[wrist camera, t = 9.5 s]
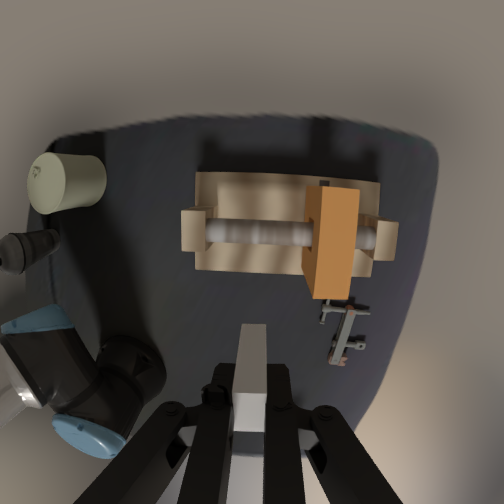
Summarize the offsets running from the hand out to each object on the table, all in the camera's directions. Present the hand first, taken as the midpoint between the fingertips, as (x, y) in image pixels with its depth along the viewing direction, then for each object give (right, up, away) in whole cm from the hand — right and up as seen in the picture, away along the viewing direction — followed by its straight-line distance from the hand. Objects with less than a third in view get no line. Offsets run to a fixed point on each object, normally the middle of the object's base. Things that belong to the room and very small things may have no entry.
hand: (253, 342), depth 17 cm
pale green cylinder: (-29, +18, +25) cm, 43 cm away
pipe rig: (+5, +10, +25) cm, 27 cm away
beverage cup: (-40, +8, +28) cm, 49 cm away
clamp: (+16, -7, +29) cm, 34 cm away
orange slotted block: (+9, +9, +23) cm, 26 cm away
